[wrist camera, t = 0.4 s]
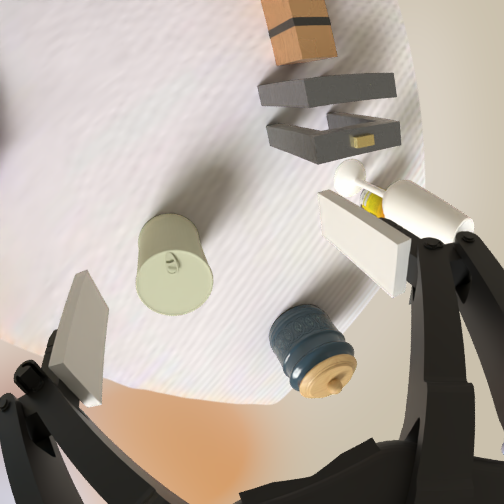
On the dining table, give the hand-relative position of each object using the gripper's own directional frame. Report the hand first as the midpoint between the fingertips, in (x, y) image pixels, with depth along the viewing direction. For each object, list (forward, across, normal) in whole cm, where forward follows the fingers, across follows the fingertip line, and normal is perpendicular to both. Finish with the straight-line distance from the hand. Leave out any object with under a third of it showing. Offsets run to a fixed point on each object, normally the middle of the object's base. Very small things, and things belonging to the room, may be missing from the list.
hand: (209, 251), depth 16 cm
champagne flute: (+27, +26, -10) cm, 39 cm away
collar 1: (+27, +19, +6) cm, 34 cm away
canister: (+27, +13, -38) cm, 48 cm away
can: (+27, -4, -11) cm, 30 cm away
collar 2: (+27, +19, 0) cm, 33 cm away
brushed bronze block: (+27, +19, +22) cm, 40 cm away
